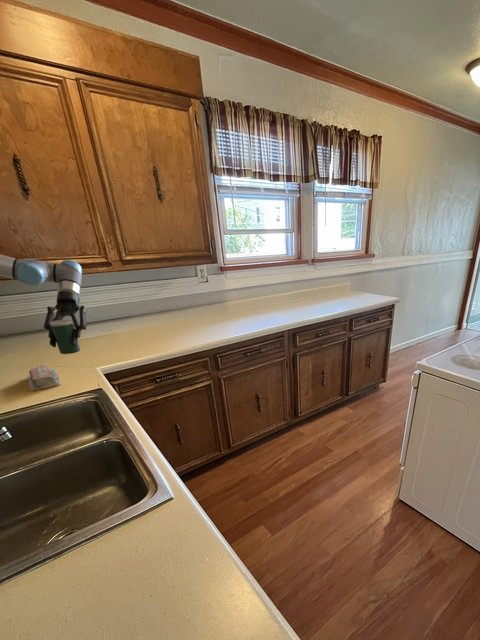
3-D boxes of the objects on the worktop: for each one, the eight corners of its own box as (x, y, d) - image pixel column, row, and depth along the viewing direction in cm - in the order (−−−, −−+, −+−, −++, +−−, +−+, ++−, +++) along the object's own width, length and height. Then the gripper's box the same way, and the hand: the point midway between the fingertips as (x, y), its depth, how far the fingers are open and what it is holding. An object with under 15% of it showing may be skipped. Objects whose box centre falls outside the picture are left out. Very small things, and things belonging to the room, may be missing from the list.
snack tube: (56, 354, 128) (45, 324, 123) (64, 349, 135) (54, 320, 129) (76, 353, 130) (66, 323, 124) (83, 348, 136) (74, 319, 130)
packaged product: (57, 374, 130) (26, 380, 124) (61, 385, 132) (31, 392, 126) (52, 362, 142) (23, 367, 136) (56, 372, 144) (28, 378, 138)
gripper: (98, 300, 139) (95, 348, 133) (47, 301, 136) (41, 350, 129) (90, 289, 132) (86, 339, 125) (36, 290, 129) (28, 341, 122)
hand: (63, 345), depth 127 cm, fingers closed on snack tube, 7 cm apart
